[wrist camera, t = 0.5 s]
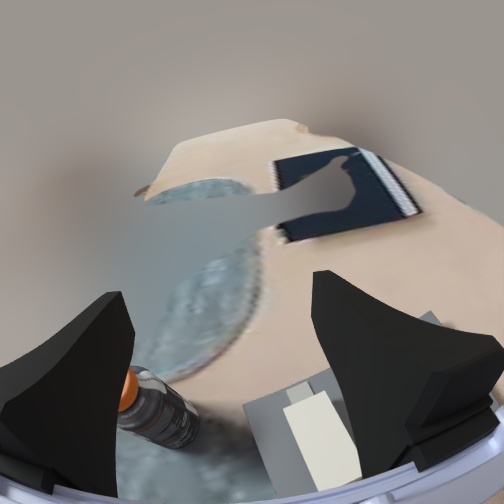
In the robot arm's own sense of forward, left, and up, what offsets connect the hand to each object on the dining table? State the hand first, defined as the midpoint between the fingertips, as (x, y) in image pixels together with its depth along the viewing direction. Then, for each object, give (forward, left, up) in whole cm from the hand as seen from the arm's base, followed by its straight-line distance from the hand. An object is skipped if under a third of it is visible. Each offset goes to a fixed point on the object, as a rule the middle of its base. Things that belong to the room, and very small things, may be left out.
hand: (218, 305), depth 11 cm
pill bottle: (+4, +11, -20) cm, 23 cm away
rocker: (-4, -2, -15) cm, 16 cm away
